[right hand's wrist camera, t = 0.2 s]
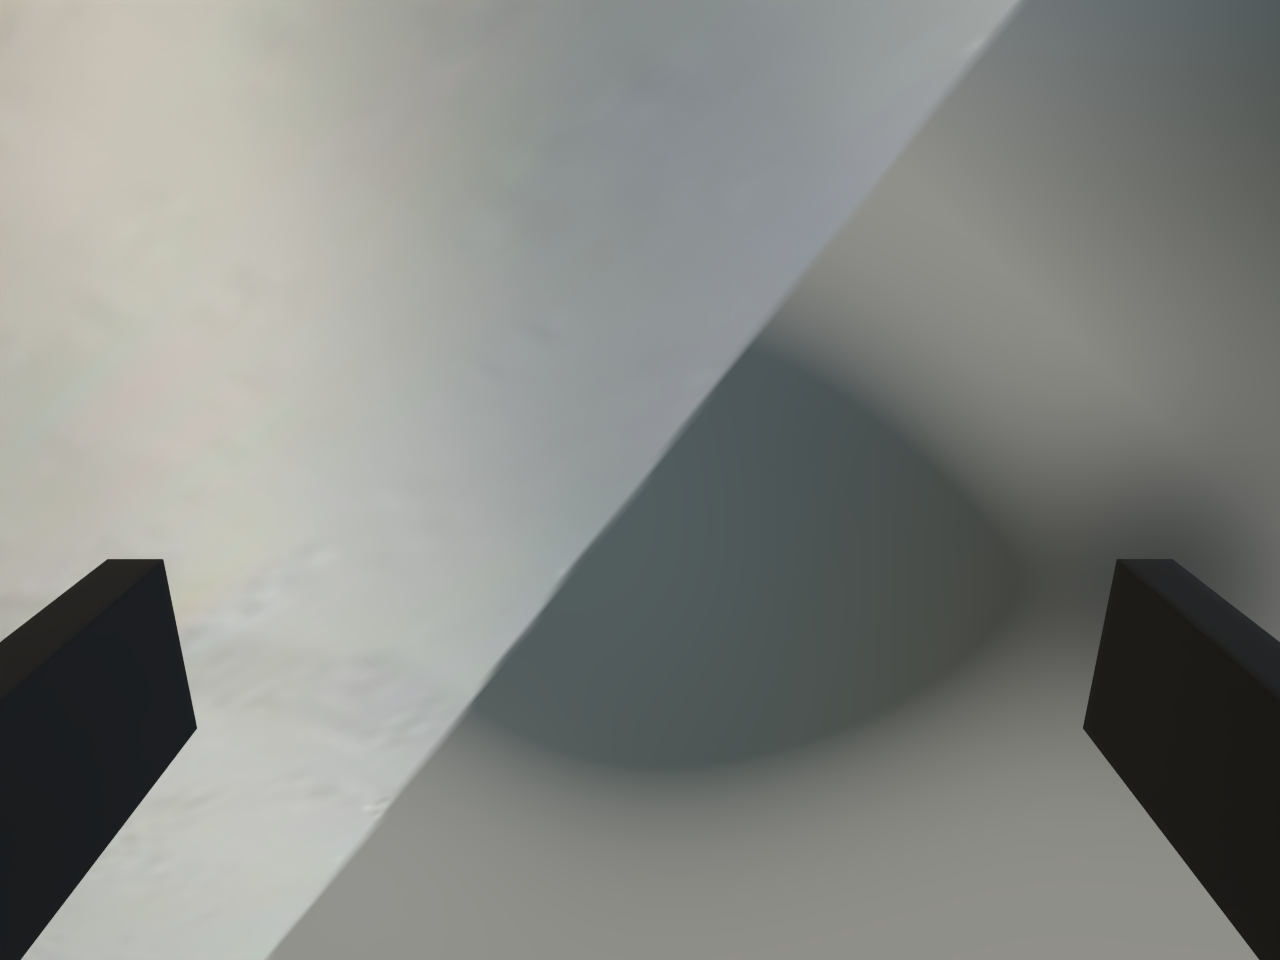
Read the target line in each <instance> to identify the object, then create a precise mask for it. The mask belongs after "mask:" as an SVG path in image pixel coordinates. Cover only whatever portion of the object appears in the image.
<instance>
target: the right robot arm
mask: <svg viewBox="0 0 1280 960" xmlns="http://www.w3.org/2000/svg"><path fill="white" fill-rule="evenodd" d="M196 729H197V726H196V721H195V716H194V711H193V706H192V701H191V696H190V691H189V686H188V681H187V676H186V671H185V666H184V661H183V656H182V651H181V646H180V641H179V636H178V631H177V626H176V621H175V616H174V611H173V606H172V601H171V596H170V591H169V586H168V581H167V576H166V571H165V566H164V561H163V559H107V560H106V561H105V562H103V563H102V564H101V565H99V566H98V567H97V568H96V569H94V570H93V571H92V572H90V573H89V574H88V575H87V576H85V577H84V578H83V579H81V580H80V581H79V582H77V583H76V584H75V585H74V586H72V587H71V588H70V589H68V590H67V591H66V592H65V593H63V594H62V595H61V596H59V597H58V598H57V599H56V600H54V601H53V602H52V603H50V604H49V605H48V606H46V607H45V608H44V609H43V610H41V611H40V612H39V613H37V614H36V615H35V616H34V617H32V618H31V619H30V620H28V621H27V622H26V623H24V624H23V625H22V626H21V627H19V628H18V629H17V630H15V631H14V632H13V633H12V634H10V635H9V636H8V637H6V638H5V639H4V640H3V641H1V642H0V960H21V959H22V957H23V956H24V955H25V953H26V952H27V951H28V949H29V948H30V947H31V945H32V944H33V943H34V941H35V940H36V939H37V938H38V936H39V935H40V934H41V932H42V931H43V930H44V928H45V927H46V926H47V924H48V923H49V922H50V920H51V919H52V918H53V917H54V915H55V914H56V913H57V911H58V910H59V909H60V907H61V906H62V905H63V903H64V902H65V901H66V899H67V898H68V897H69V896H70V894H71V893H72V892H73V890H74V889H75V888H76V886H77V885H78V884H79V882H80V881H81V880H82V879H83V877H84V876H85V875H86V873H87V872H88V871H89V869H90V868H91V867H92V865H93V864H94V863H95V861H96V860H97V859H98V858H99V856H100V855H101V854H102V852H103V851H104V850H105V848H106V847H107V846H108V844H109V843H110V842H111V840H112V839H113V838H114V837H115V835H116V834H117V833H118V831H119V830H120V829H121V827H122V826H123V825H124V823H125V822H126V821H127V819H128V818H129V817H130V816H131V814H132V813H133V812H134V810H135V809H136V808H137V806H138V805H139V804H140V802H141V801H142V800H143V799H144V797H145V796H146V795H147V793H148V792H149V791H150V789H151V788H152V787H153V785H154V784H155V783H156V781H157V780H158V779H159V778H160V776H161V775H162V774H163V772H164V771H165V770H166V768H167V767H168V766H169V764H170V763H171V762H172V760H173V759H174V758H175V757H176V755H177V754H178V753H179V751H180V750H181V749H182V747H183V746H184V745H185V743H186V742H187V741H188V739H189V738H190V737H191V736H192V734H193V733H194V732H195V730H196ZM1083 729H1084V730H1085V732H1086V733H1087V734H1088V735H1089V737H1090V738H1091V739H1092V741H1093V742H1094V743H1095V745H1096V746H1097V747H1098V749H1099V750H1100V751H1101V753H1102V754H1103V755H1104V757H1105V758H1106V759H1107V760H1108V762H1109V763H1110V764H1111V766H1112V767H1113V768H1114V770H1115V771H1116V772H1117V774H1118V775H1119V776H1120V777H1121V779H1122V780H1123V781H1124V783H1125V784H1126V785H1127V787H1128V788H1129V789H1130V791H1131V792H1132V793H1133V795H1134V796H1135V797H1136V799H1137V800H1138V801H1139V802H1140V804H1141V805H1142V806H1143V808H1144V809H1145V810H1146V812H1147V813H1148V814H1149V816H1150V817H1151V818H1152V819H1153V821H1154V822H1155V823H1156V825H1157V826H1158V827H1159V829H1160V830H1161V831H1162V833H1163V834H1164V835H1165V836H1166V838H1167V839H1168V840H1169V842H1170V843H1171V844H1172V846H1173V847H1174V848H1175V850H1176V851H1177V852H1178V854H1179V855H1180V856H1181V857H1182V859H1183V860H1184V861H1185V863H1186V864H1187V865H1188V867H1189V868H1190V869H1191V871H1192V872H1193V873H1194V875H1195V876H1196V877H1197V879H1198V880H1199V881H1200V882H1201V884H1202V885H1203V886H1204V888H1205V889H1206V890H1207V892H1208V893H1209V894H1210V896H1211V897H1212V898H1213V899H1214V901H1215V902H1216V903H1217V905H1218V906H1219V907H1220V909H1221V910H1222V911H1223V913H1224V914H1225V915H1226V917H1227V918H1228V919H1229V920H1230V922H1231V923H1232V924H1233V926H1234V927H1235V928H1236V930H1237V931H1238V932H1239V934H1240V935H1241V936H1242V938H1243V939H1244V940H1245V941H1246V943H1247V944H1248V945H1249V947H1250V948H1251V949H1252V951H1253V952H1254V953H1255V955H1256V956H1257V957H1258V959H1259V960H1280V642H1279V641H1277V640H1276V639H1275V638H1274V637H1272V636H1271V635H1270V634H1268V633H1267V632H1266V631H1265V630H1263V629H1262V628H1261V627H1259V626H1258V625H1257V624H1256V623H1254V622H1253V621H1252V620H1250V619H1249V618H1248V617H1246V616H1245V615H1244V614H1243V613H1241V612H1240V611H1239V610H1237V609H1236V608H1235V607H1233V606H1232V605H1231V604H1230V603H1228V602H1227V601H1226V600H1224V599H1223V598H1222V597H1221V596H1219V595H1218V594H1217V593H1215V592H1214V591H1213V590H1212V589H1210V588H1209V587H1208V586H1206V585H1205V584H1204V583H1202V582H1201V581H1200V580H1199V579H1197V578H1196V577H1195V576H1193V575H1192V574H1191V573H1190V572H1188V571H1187V570H1186V569H1184V568H1183V567H1182V566H1181V565H1179V564H1178V563H1177V562H1175V561H1174V560H1173V559H1117V561H1116V566H1115V571H1114V576H1113V581H1112V586H1111V591H1110V596H1109V601H1108V606H1107V611H1106V616H1105V621H1104V626H1103V631H1102V636H1101V641H1100V646H1099V651H1098V656H1097V661H1096V666H1095V671H1094V676H1093V681H1092V686H1091V691H1090V696H1089V701H1088V706H1087V711H1086V716H1085V721H1084V726H1083Z"/></svg>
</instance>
